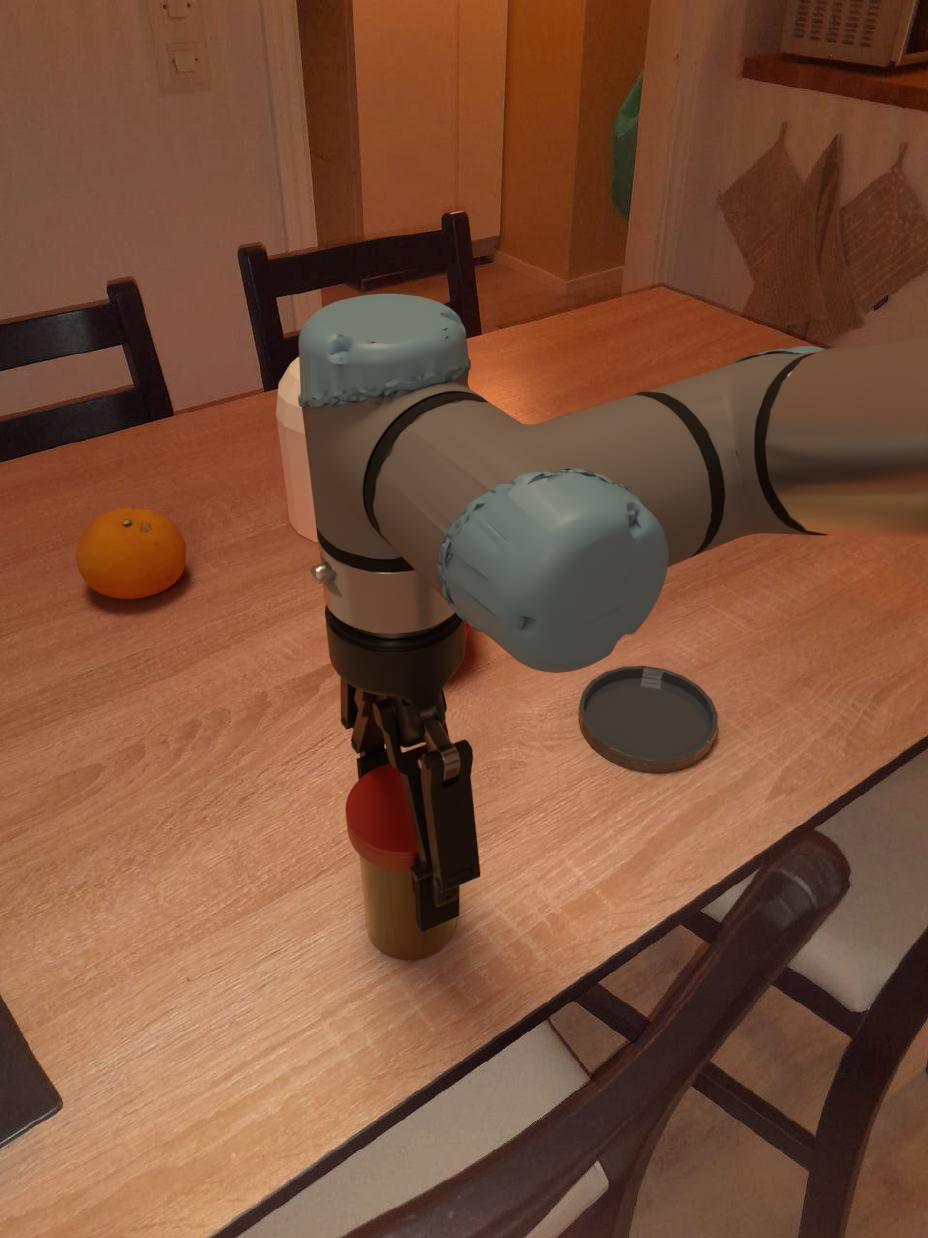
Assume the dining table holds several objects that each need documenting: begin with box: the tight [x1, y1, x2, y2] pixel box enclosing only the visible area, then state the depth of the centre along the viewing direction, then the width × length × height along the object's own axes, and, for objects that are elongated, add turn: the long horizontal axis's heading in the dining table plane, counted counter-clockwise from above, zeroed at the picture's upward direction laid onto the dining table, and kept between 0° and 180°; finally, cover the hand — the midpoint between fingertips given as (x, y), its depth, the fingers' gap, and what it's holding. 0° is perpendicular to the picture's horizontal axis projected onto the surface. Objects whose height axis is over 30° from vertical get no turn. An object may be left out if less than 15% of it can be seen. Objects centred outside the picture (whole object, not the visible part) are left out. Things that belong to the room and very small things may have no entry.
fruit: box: [75, 507, 187, 600], centre depth 98 cm, size 10×10×8 cm
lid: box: [345, 763, 419, 871], centre depth 62 cm, size 8×8×2 cm
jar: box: [358, 854, 457, 961], centre depth 65 cm, size 6×6×12 cm
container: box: [275, 356, 318, 543], centre depth 106 cm, size 14×13×20 cm
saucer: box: [577, 665, 719, 774], centre depth 84 cm, size 12×12×2 cm
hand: (408, 867), depth 65 cm, fingers open, 8 cm apart
